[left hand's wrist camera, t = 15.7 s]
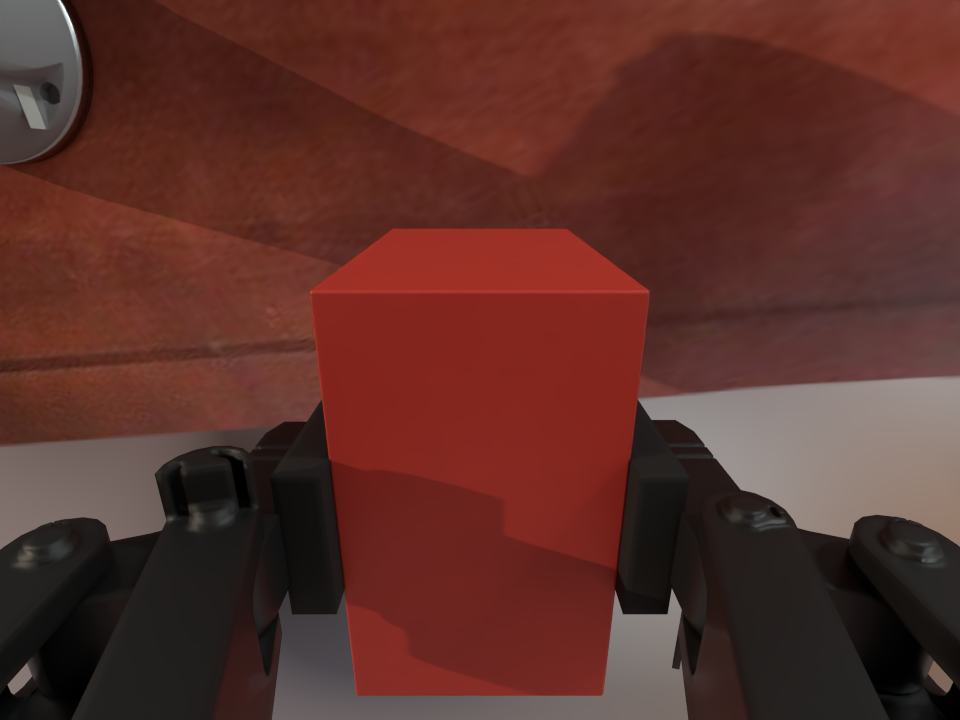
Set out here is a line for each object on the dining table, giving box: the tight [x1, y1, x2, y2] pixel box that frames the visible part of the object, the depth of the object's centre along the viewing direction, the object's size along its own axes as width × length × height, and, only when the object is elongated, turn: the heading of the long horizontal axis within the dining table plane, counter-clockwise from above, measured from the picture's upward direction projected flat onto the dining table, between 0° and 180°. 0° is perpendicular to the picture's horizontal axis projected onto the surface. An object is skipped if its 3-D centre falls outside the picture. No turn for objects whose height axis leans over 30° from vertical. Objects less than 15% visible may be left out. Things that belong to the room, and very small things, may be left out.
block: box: [310, 229, 650, 696], centre depth 12 cm, size 8×5×8 cm, turn 0°
